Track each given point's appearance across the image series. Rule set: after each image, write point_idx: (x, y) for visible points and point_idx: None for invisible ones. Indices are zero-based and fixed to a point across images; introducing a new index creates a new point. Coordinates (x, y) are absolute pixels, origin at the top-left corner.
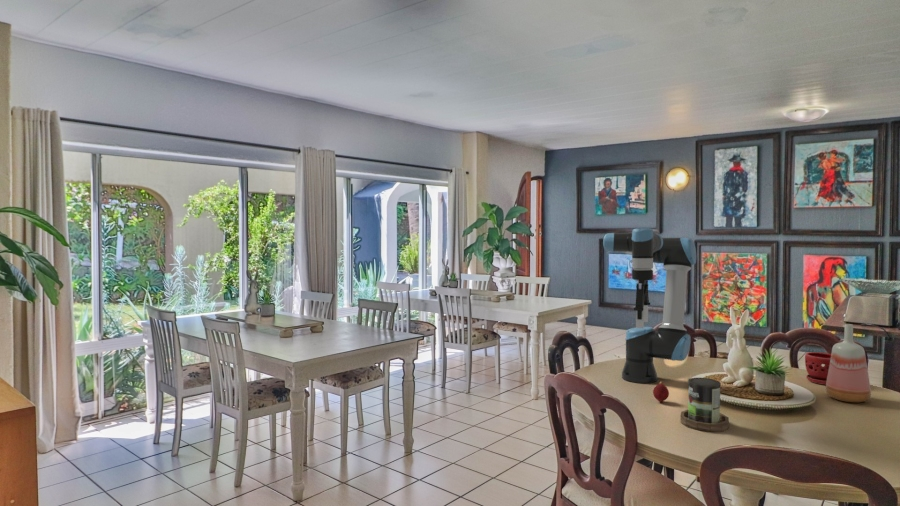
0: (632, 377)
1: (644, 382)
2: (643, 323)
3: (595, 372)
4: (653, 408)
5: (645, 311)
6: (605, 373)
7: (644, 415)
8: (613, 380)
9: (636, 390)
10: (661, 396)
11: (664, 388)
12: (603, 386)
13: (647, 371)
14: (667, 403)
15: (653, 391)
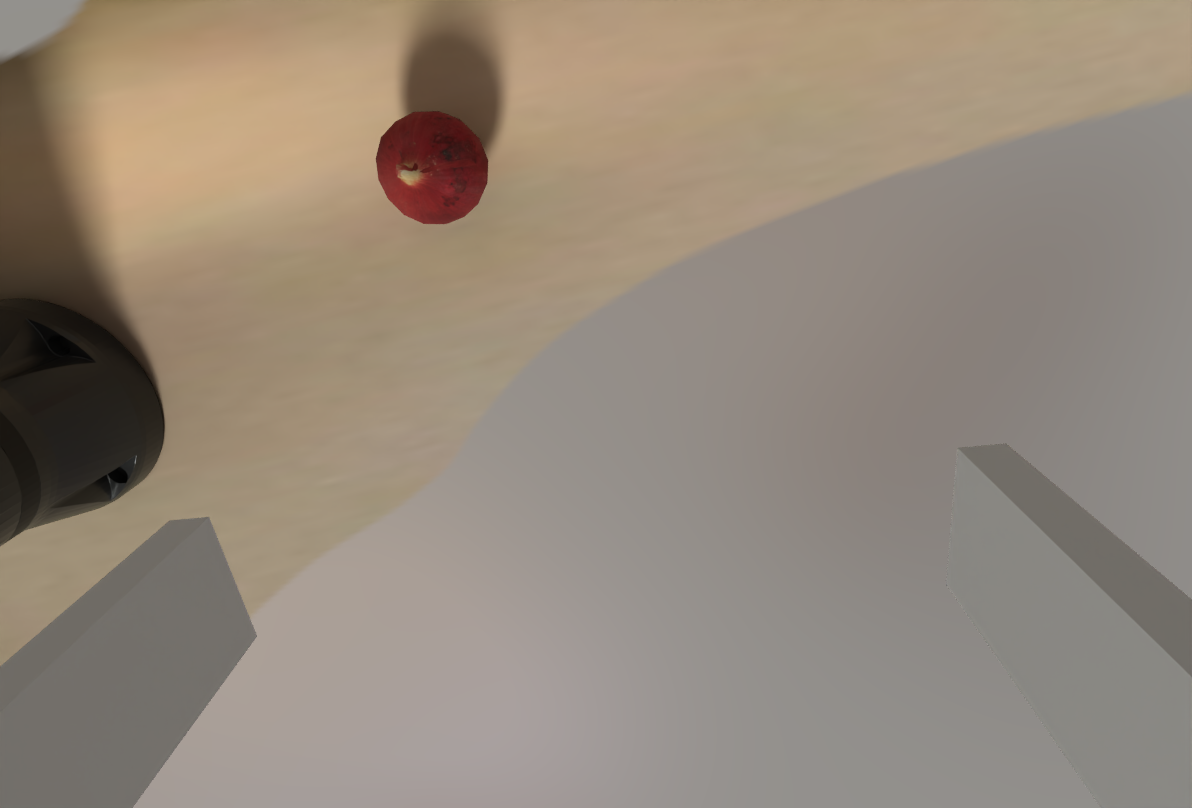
0: (143, 432)
1: (128, 354)
2: (1070, 505)
3: None
4: (603, 177)
5: (45, 758)
6: None
7: (764, 194)
8: None
9: (307, 358)
10: (484, 152)
11: (442, 138)
12: (354, 531)
13: (33, 366)
14: None
15: (456, 218)
